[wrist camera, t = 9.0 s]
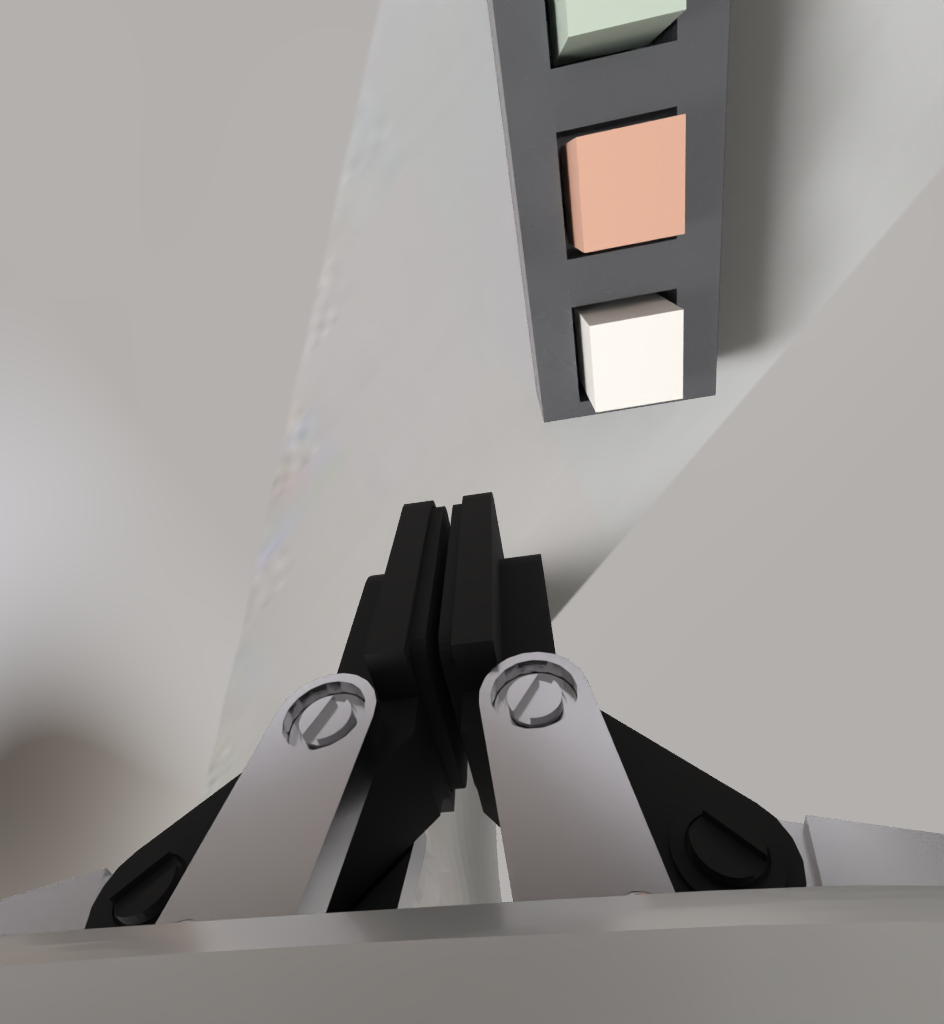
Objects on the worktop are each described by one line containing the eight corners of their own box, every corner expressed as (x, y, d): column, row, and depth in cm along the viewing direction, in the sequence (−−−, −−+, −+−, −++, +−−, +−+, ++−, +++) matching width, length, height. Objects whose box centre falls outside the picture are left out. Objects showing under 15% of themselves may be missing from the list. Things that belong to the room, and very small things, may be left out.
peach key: (651, 226, 31) (684, 233, 26) (568, 243, 31) (584, 253, 26) (649, 128, 29) (685, 113, 23) (560, 147, 29) (576, 137, 24)
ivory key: (653, 367, 35) (682, 398, 30) (579, 380, 35) (595, 412, 30) (652, 290, 33) (683, 309, 27) (573, 305, 33) (589, 326, 28)
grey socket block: (683, 367, 38) (715, 395, 32) (536, 391, 39) (544, 422, 33) (687, -109, 26) (737, -184, 21) (480, -56, 27) (478, -114, 22)
